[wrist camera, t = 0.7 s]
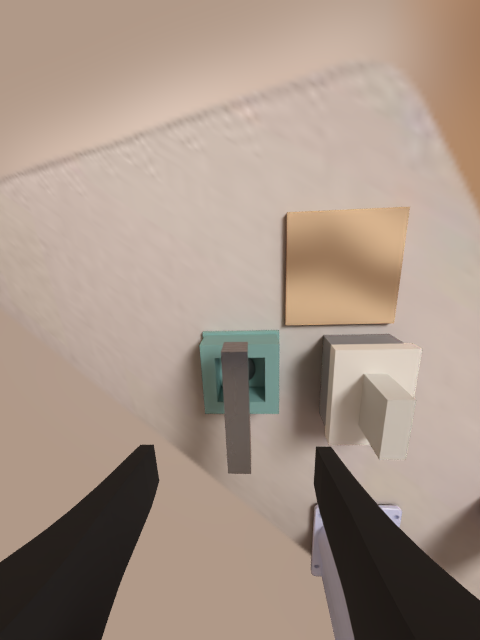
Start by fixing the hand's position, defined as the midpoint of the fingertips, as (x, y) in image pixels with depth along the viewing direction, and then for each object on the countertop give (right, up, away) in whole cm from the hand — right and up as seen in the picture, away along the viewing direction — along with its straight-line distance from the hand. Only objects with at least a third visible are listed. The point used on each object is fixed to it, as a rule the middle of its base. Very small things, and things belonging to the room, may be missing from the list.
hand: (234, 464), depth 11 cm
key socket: (0, +3, +10) cm, 10 cm away
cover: (+9, +1, +7) cm, 12 cm away
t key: (0, +3, +9) cm, 10 cm away
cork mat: (+8, +10, +7) cm, 14 cm away
